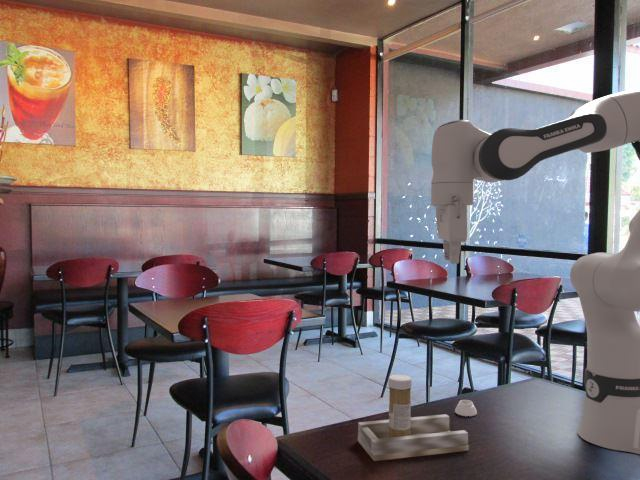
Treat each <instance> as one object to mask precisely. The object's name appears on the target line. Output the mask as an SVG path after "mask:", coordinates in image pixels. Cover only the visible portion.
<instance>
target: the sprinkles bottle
mask: <svg viewBox="0 0 640 480" xmlns="http://www.w3.org/2000/svg"><path fill="white" fill-rule="evenodd" d="M388 389H389V396H388V397H389V402H388V403H389V404H388V420H389V438H392V437H401V436H410V427H411V417H412V416H411V412H412V411H411V410H412V409H411V407H412V404H411V394H412V393H411V389H412V377H411V376H409V375H405V374H393V375H390V376H389V377H388Z"/></svg>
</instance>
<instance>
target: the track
mask: <svg viewBox="0 0 640 480" xmlns="http://www.w3.org/2000/svg"><path fill="white" fill-rule="evenodd" d="M357 424H358V425H357V426H358V427H357V429H358V431H357V432H358V434H357V435H358V436H357V442H358V443H359V444H360V446H361V447H362V448H363V449H364V450H365V452H366V453H367V454H368V455H369V456H370V458H371V459H372V461H374V462H379V461H387V460H388V461H389V460H396V459H405V458H414V457H415V458H416V457H423V456H432V455H442V454H450V453H458V452H459V453H460V452H468V451H469V447H470V445H469V432H467V430H465V429H464V430H462V429H461V430H454V431H451V430H450V415H448V414H446V413H445V414H435V415H434V414H433V415H424V416H414V417H412V416H411V427H410V436H401V437H392V438H389V419H380V420H371V421H370V420H369V421H359V422H358V423H357Z"/></svg>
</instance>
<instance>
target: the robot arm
mask: <svg viewBox="0 0 640 480" xmlns="http://www.w3.org/2000/svg"><path fill="white" fill-rule="evenodd" d="M628 144H630V145H631V146H632V148H633V150H635V154H636V157H637V158H638V160H639V161H640V88H636V89H631V90H624V91H620V92H616V93H613V94H608V95H605V96H602V97H599V98H596V99H594V100H592V101H589V102H588V103H585V104H583V105H581V106H580V107H578V108H576V109H574V110H573V111H572V112H571V114H570V115H569V117H567V118H566V119H563V120H559V121H557V122H554V123H550V124H546V125H544V126H540V127H537V128H533V129H523V128H512V127H507V128H501V129H498V130H496V131H495V132H493V133H489V132H487V131H484V130H482V129H480V128H479V127H477V126H476V125H474V124H473V123H472V122H471V120H468V119H458V120H453V121H449V122H446V123H443V124H441V125H439V126H438V127H437V128H436V130H435V131H434V132H433V137H432V144H431V145H432V146H431V167H432V171H433V173H432V178H431V183H430V184H431V185H430V186H431V187H430V190H431V191H430V205H431V206H433V207H434V208H435V207H436V208H435V215H436V218H435V219H436V228H437V236H438V238H439V239H441V240H442V245H443V258H444V260H445V261H449V263H450V264H453V265H454V264H455V265H458V264H459V263H460V254H461V249H462V243H465V242H467V239H468V214H467V213H468V206H474V180H478V181H482V182H486V183H496V182H501V181H513V180H516V179H519V178H521V177H523V176H524V175H526V174H527V173H529V171H531V170H532V169H533V168H534V167H535V166H536V165H537V164H538V163H540V162H541V161H542V162H543V161H544V160H547V159H550V158H552V157H556V156H559V155H562V154H565V153H568V152H571V151H574V150H575V151H576V150H579V151H580V152H582V153H585V154H588V153H597V152H603V151H609V150H612V149H615V148H618V147H621V146H625V145H628ZM628 231H629V233H630V234H629V237H628V240H627V242H626V243H625V245H624V247H623V248H622V250H620V251H619V252H618V253H612V252H611V253H610V252H603V251H602V252H594V253H590V254H586V255H582V256H581V257H579V258H578V259H577V260H575V262H574V263H573V265H572V267H571V268H570V274H569V279H570V283H571V285H572V287H573V289H574V290H575V292H576V293H577V295H578V299H579V302H580V306H581V309H582V313H583V314H582V315H583V318H584V323H585V328H586V337H587V341H586V345H587V346H586V347H587V348H586V350H587V351H586V353H587V354H586V355H587V356H586V360H587V361H586V362H587V363H586V368H585V369H584V380H583V381H584V384H583V385H584V390H585V395H584V402H583V409H582V415H581V418H580V421H579V425H578V428H577V432H576V433H577V435H578V436H579V437H580V438H581V439H583V440H585V441H586V442H588V443H591V444H592V445H596V446H598V447H602V448H604V449H605V448H606V449H609V450H614V451H621V452H629V453H633V454H637V455H640V325H639V322H638V320H637V317H636V314H635V312H640V209H639V210H638V211H637V212H636V213H635V215H634V216H633V218H631V220H630V221H629V224H628Z"/></svg>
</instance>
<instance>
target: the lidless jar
mask: <svg viewBox="0 0 640 480" xmlns="http://www.w3.org/2000/svg"><path fill="white" fill-rule="evenodd" d="M454 413H456V414H457V415H458V416H462V417H467V418H468V416H469V417H474V416H476V415H478V411H477V408H476V407H475V404H474V403H473V401H472V400H469V399H461V400H459V401H458V404H457V405H456V407H455V409H454Z"/></svg>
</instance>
